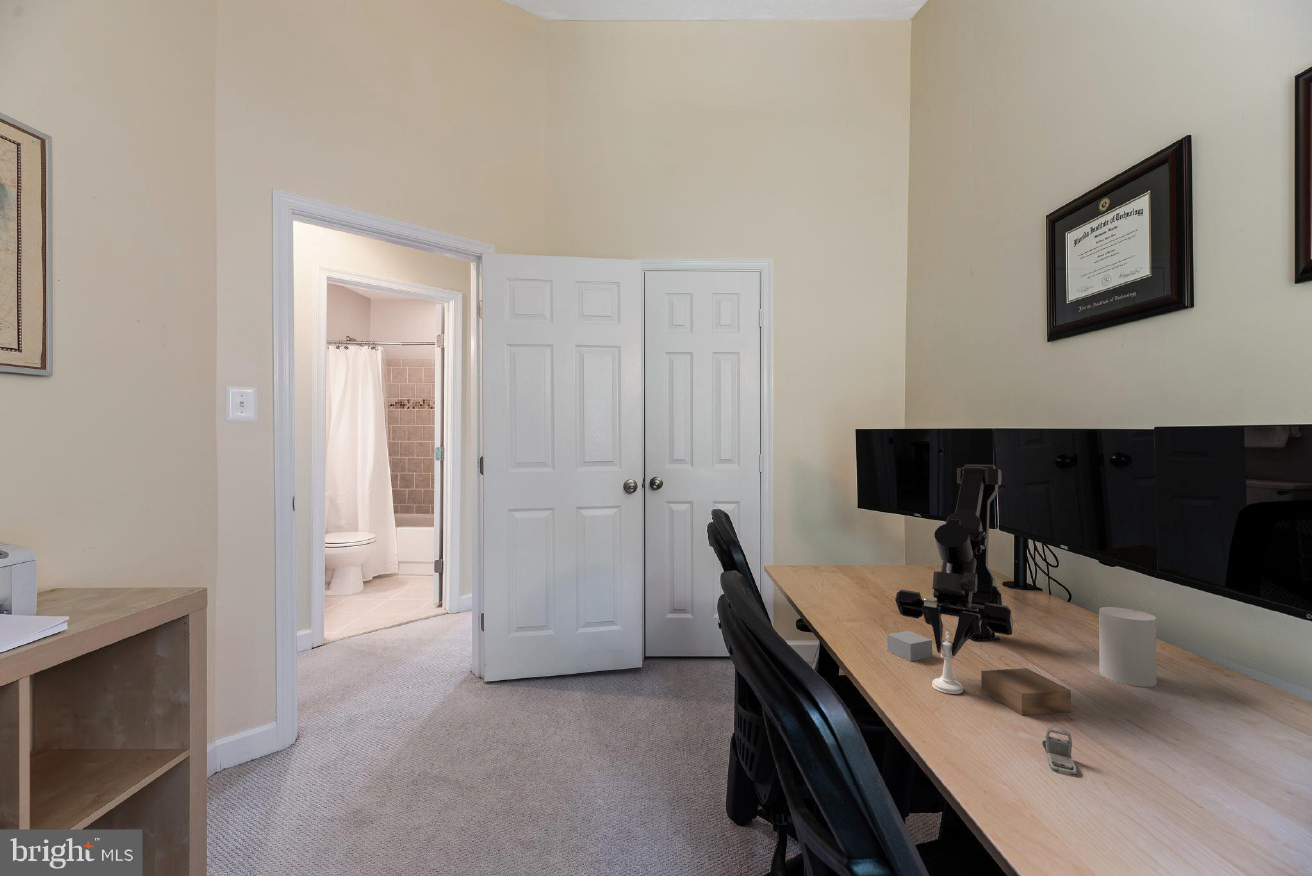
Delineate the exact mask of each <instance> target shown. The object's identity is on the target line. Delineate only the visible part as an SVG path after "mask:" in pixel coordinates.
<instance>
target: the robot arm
mask: <svg viewBox="0 0 1312 876" xmlns="http://www.w3.org/2000/svg"><path fill="white" fill-rule="evenodd" d="M956 474H957V475H956V478H957V479H956V482H957V484H960V486H959V489H958V490H959V492H958V496H957V501H956V507H955V510H954V512H953V513H952V514H950V515H949V516H947V518H946V521H945V523H944V524H941V525H940V526H938V527H937V528H936V530H935V531H934V535H933V536H934V538H935V539H934V540H935V543H936V547H937V551H938V554H939V557H940V560H941V561H942V564H941V570H940V571H939V570H938V571H937V570H936V571H935V570H934V571H933V579H932V588H931V589H932V590H933V593H932V596H933V598H934V599H931V598H922V595H921V593H920V591H914V590H907V589H900V590H898V591H897V592H896V595H895V598H894V599H895V604H896V607H897V610H898V611H899V614H900V615H901V616H903V617H905V618H913V619H919V618H922V617H923V619H924V622H925V623H926V624H927V625H930V626H931V627H932V631H933V636H934V641H935V646H936V647H935V648H936V651H937V653H938V654H940V653H941V652H942V649H943V647H942V645H941V642H942V641H943V633H944V632H943V631H944V624H943V620H942V615H945V616H950V617H956V618H958V621H957V626H956V629H955V633H954V634H955V635H954V637H953V642H952V643H953V644H952V651H951V655H952V656H954V657H956V656H957V654H958V653H959V651H960V650H961V649H962V647H963V646H964V644H966V642H967V641H968V640H969V639H971V640H972V641H975V642H976V641H995V640H996V641H997V640H1001V637H1000V636H999V635H996V634H1000V635H1006V636H1012V635H1013V632H1014V631H1013V630H1014V619H1013V614H1012V613H1013V612H1012V609H1011V608H1010V607H1009V606H1008V605H1003V599H1002V598H1003V597H1002V593H1001V592H1000V590H999V587H998V586H996V577H995V576H994V575H993V573H992V571H991V569H990V568H989V567H988V566H989V539H990V538H989V534H990V504H991V502H992V501H993V500H994V498H996V496H997V495H998V493H999V486H1001V484H1002V470H1001V469H999V468H996V465H995V464H965V465H964V466H963V467H958V468H956Z"/></svg>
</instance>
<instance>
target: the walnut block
mask: <svg viewBox="0 0 1312 876" xmlns="http://www.w3.org/2000/svg"><path fill="white" fill-rule="evenodd" d="M980 673H981V674H980V676H981V677H980V682H981V683H980V684H981V685H980V686H981V687H980V688H981V689H980V690H982V691H981V692H983V693H984V692H985V693H984V694H986V695H988V696H989V697H991V698H992V699H994V700H996V699H997V700H996V701H998V702H999V701H1000V702H999V703H1001V704H1002V705H1005V706H1006V707H1007V706H1008V707H1007V708H1009V709H1010V710H1012V711H1014V712H1016V713H1017V714H1019V715H1020V716H1032V715H1033V716H1034V715H1044V714H1055V713H1056V714H1061V713H1071V712H1072V690H1071V689H1069V688H1067V687H1065V686H1063V685H1062V684H1059V683H1057V682H1055V681H1053V680H1051V679H1050V678H1047V677H1045V676H1043V675H1041V674H1039V673H1037V672H1035V671H1034V670H1031V669H1029V668H1027V667H1026V668H1025V667H1023V668H1008V669H1007V668H1006V669H1005V668H1003V669H990V670H987V669H986V670H981V671H980Z"/></svg>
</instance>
